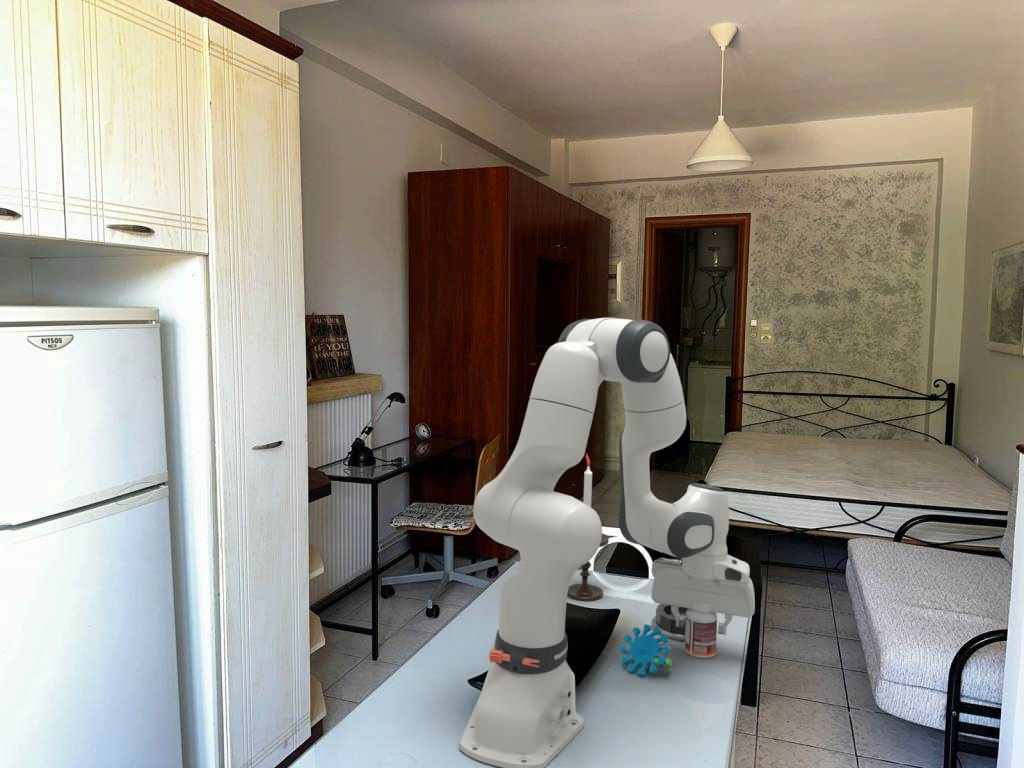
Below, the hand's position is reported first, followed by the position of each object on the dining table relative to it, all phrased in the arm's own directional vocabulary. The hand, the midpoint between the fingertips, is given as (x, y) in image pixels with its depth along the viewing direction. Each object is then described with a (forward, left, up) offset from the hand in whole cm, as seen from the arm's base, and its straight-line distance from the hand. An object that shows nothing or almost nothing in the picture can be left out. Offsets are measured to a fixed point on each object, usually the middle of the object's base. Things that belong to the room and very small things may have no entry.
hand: (700, 629), depth 146 cm
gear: (-12, +9, -5) cm, 15 cm away
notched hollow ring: (+10, +5, -5) cm, 12 cm away
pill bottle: (0, 0, -5) cm, 5 cm away
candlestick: (+21, +30, -5) cm, 37 cm away
